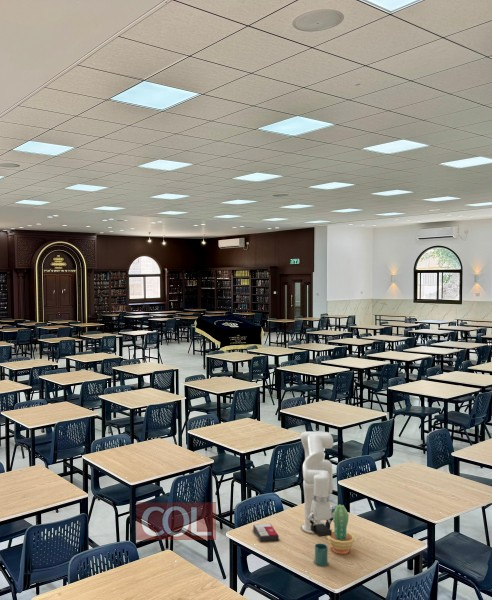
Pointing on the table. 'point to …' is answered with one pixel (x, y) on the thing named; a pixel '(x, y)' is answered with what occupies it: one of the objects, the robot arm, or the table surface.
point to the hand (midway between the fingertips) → (321, 530)
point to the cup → (321, 554)
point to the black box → (322, 530)
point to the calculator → (265, 532)
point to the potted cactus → (340, 531)
